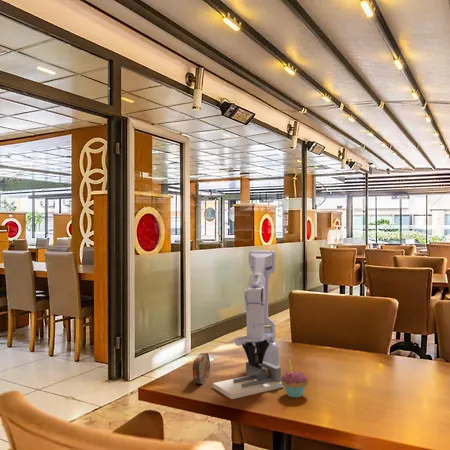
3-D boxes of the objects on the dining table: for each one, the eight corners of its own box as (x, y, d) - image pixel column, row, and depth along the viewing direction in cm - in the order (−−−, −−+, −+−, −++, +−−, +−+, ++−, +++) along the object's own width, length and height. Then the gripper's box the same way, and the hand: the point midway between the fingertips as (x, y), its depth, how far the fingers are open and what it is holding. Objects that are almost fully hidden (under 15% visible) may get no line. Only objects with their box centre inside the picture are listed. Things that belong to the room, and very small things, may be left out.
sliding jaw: (251, 373, 158) (251, 349, 158) (266, 380, 150) (266, 356, 150) (245, 374, 157) (245, 350, 157) (260, 381, 149) (260, 357, 149)
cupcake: (291, 401, 139) (291, 362, 139) (275, 392, 147) (275, 355, 147) (313, 396, 143) (313, 358, 143) (297, 388, 151) (297, 351, 151)
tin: (200, 387, 152) (200, 362, 152) (191, 387, 153) (190, 361, 153) (210, 373, 167) (210, 350, 167) (202, 372, 168) (202, 349, 168)
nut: (260, 380, 157) (266, 370, 158) (267, 383, 153) (273, 373, 155) (252, 373, 155) (259, 363, 157) (259, 377, 152) (266, 366, 153)
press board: (262, 376, 162) (262, 359, 162) (283, 387, 152) (283, 369, 152) (213, 387, 152) (212, 369, 152) (231, 399, 142) (231, 379, 142)
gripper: (243, 328, 146) (243, 371, 146) (279, 323, 154) (280, 363, 154) (231, 324, 152) (232, 365, 152) (267, 319, 160) (268, 358, 160)
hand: (255, 364), depth 153 cm, fingers open, 3 cm apart
